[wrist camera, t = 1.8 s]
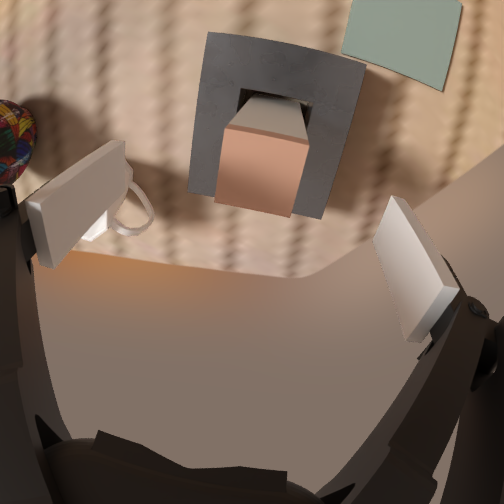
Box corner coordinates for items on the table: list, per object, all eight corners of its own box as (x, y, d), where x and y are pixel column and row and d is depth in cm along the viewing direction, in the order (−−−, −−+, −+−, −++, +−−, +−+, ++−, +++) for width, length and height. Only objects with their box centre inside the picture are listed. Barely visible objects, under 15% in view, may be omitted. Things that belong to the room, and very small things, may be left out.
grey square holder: (218, 34, 22) (207, 31, 19) (356, 63, 22) (366, 64, 19) (198, 175, 30) (187, 192, 27) (317, 199, 30) (321, 219, 27)
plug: (254, 93, 25) (224, 128, 14) (299, 102, 25) (309, 145, 14) (246, 134, 27) (214, 202, 16) (289, 143, 27) (290, 217, 16)
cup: (104, 131, 28) (58, 158, 22) (179, 181, 31) (150, 221, 24) (83, 180, 32) (42, 215, 25) (150, 227, 35) (121, 271, 28)
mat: (361, -40, 16) (362, -41, 16) (460, 3, 16) (461, 3, 16) (340, 53, 22) (341, 52, 22) (439, 90, 22) (441, 91, 22)
